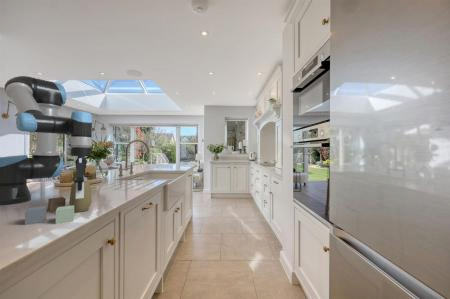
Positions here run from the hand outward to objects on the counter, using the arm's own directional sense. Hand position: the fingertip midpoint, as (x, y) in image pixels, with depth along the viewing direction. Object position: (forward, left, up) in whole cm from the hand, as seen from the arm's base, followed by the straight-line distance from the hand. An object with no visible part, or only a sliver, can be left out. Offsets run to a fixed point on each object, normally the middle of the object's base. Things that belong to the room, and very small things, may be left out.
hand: (80, 195), depth 91 cm
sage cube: (+13, -4, -7) cm, 15 cm away
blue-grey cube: (+9, -13, -7) cm, 17 cm away
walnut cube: (-7, -9, -7) cm, 13 cm away
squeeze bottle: (0, 0, -7) cm, 7 cm away
